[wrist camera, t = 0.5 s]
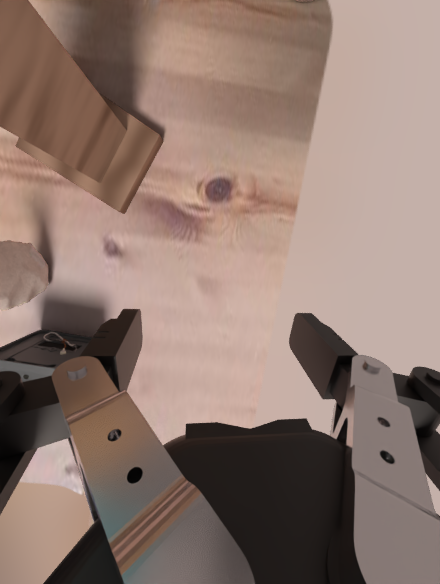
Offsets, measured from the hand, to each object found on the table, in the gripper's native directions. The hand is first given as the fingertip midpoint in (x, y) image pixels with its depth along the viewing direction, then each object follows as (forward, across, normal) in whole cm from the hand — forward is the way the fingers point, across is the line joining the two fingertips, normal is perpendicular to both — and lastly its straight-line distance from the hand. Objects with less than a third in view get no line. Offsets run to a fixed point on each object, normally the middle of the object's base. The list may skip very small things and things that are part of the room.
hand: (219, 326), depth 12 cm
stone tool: (+28, +25, +7) cm, 38 cm away
